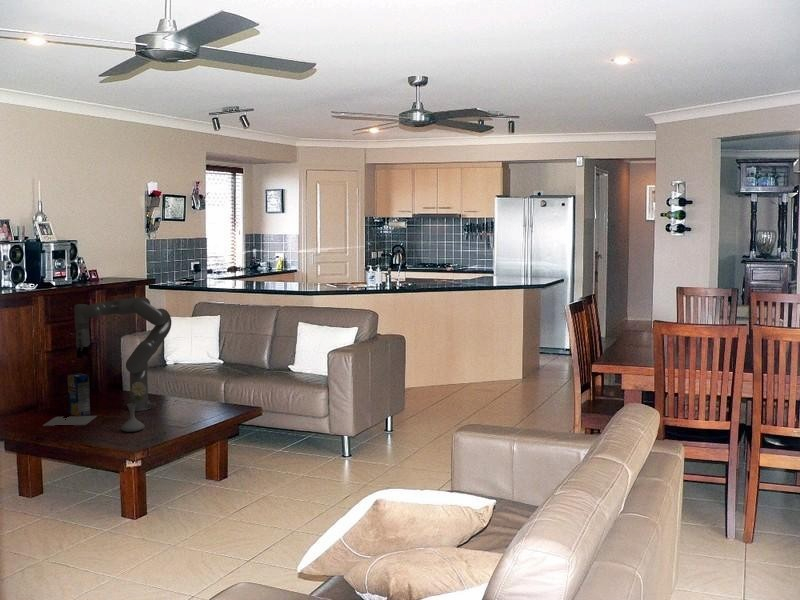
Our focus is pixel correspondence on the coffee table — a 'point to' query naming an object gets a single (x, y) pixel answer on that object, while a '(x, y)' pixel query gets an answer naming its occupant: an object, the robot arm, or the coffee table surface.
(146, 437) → the coffee table surface
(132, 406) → the flower in vase
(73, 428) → the coffee table surface
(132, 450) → the coffee table surface
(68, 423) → the mat
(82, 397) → the beverage box
